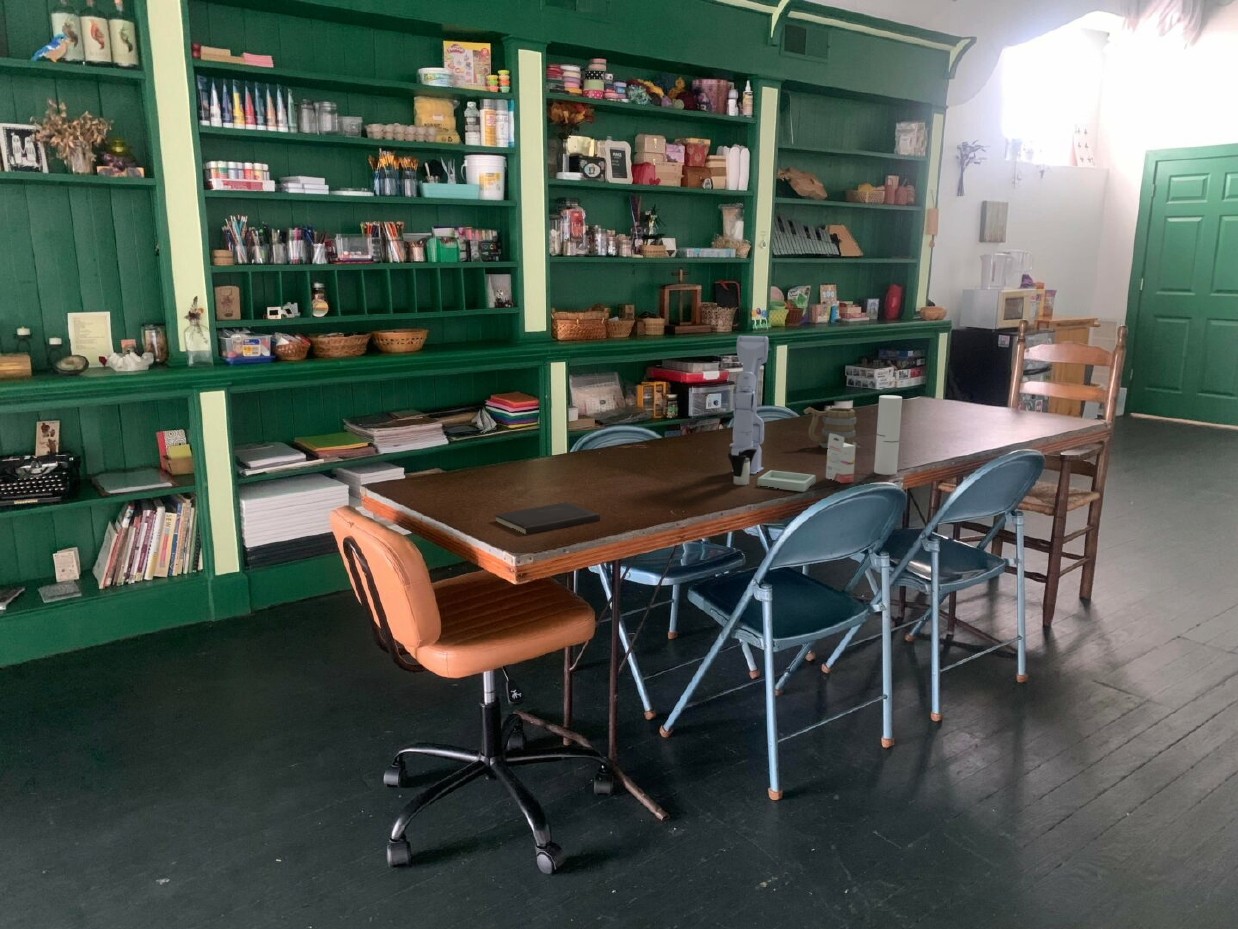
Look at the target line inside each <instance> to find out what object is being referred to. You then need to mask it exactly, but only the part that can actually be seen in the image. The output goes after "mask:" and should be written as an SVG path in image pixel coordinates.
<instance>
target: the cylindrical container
mask: <svg viewBox="0 0 1238 929" xmlns="http://www.w3.org/2000/svg"><path fill="white" fill-rule="evenodd" d="M902 406H903V397H902V396H900V395H893V394H892V395H889V394H888V395H886V394H884V395H879V397H878V410H877V424H876V439H875V454H874V469H873V471H874V473H875V474H879V475H883V476H886V475H888V476H892V475H897V474H898V462H899V449H900V448H899V446H900V433H901V419H902Z"/></svg>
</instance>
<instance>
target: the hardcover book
mask: <svg viewBox="0 0 1238 929" xmlns="http://www.w3.org/2000/svg"><path fill="white" fill-rule="evenodd" d="M493 516H494V517H495V522H496V521H497V522H496V523H499V524H501V525H504V526H506V527H508V528H510V529H512V528H514V529H516V530H515V531H517V530H518V531H517V532H519V531H520V532H519V533H521V532H522V533H521V534H523V533H524V534H523V535H525V534H530V535H533V533H535V534H538V533H537V532H540V533H544V532H543V531H545V532H550V531H553V529H555V530H559V529H558V528H560V529H565V528H570V527H571V528H572V527H574V526H575V525H576V526H580V524H581V525H585V524H584V523H586V524H589V523H588V522H591V523H594V522H593V521H596V522H600V521H601V515H600V514H599V513H598V512H595V511H592V510H589V509H587V508H584V507H581V506H578V505H577V504H576V505H575V504H572V503H571V502H570V503H569V502H567V501H566V502H560V503H553V504H549V505H544V506H543V505H542V506H537V507H531V508H526V509H525V508H524V509H519V510H514V511H508V512H503V513H497V514H494V515H493ZM514 529H513V530H514ZM549 530H550V531H549Z"/></svg>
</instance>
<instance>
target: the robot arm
mask: <svg viewBox="0 0 1238 929" xmlns="http://www.w3.org/2000/svg"><path fill="white" fill-rule="evenodd" d="M769 343H770V342H769V337H768V336H767V335H765V336H764V335H763V336H757V335H740V334H739V335H738V336H737V340H736V354H737V359H738V362H740V363H741V364H742V372H741V373H740V374H739V375H738V377H737V383H736V384H737V385H736V390H735V391H736V392H735V393H733V397H732V408H733V418H734V419H733V420H734V421H733V428H732V443H730V444H729V447H732V448H731V452H729V453H727V457H728V459H729V461H730V464H731V468H732V470H731V472H732V474H733V477H734V476H736V477H741V475H742V470H743V465H744V461H745V459H746V457H748V458H749V461H750V473H749V475H750V474H751V475H756V474H758V473H759V472H761V471H763V470H764V467H762V453H763V452H762V448H761V446H760V445H762V444H764V440H765V422H764V419H763V418H762V417H760V416H759V415H758V414H757V406H758V396H759V395H758V392H759V379H760V377H759V376H760V369H761V367H762V365H763V364H766V363H767V360H768V355H769V353H768V352H769ZM757 472H758V473H757Z"/></svg>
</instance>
